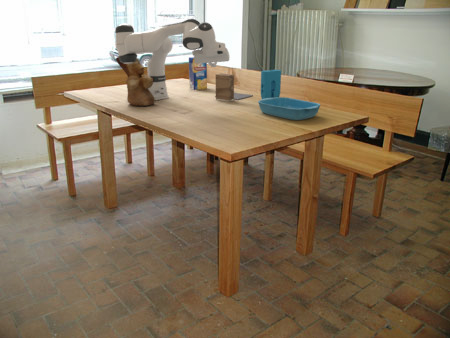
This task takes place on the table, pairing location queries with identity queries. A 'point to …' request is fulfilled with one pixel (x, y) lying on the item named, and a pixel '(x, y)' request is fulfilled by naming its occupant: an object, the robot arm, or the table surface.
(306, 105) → the casserole dish
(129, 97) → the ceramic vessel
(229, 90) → the walnut block
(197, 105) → the table surface
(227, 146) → the table surface
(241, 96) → the felt mat
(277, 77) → the block
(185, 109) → the table surface
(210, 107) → the table surface
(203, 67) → the cracker box
